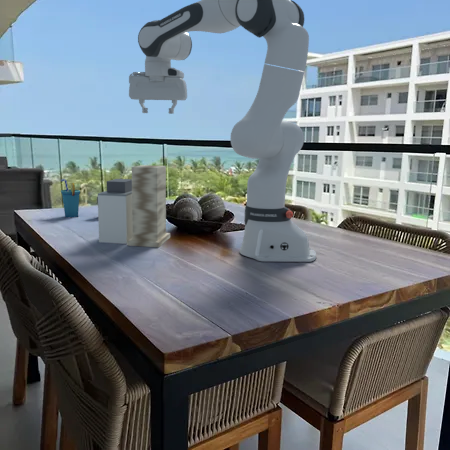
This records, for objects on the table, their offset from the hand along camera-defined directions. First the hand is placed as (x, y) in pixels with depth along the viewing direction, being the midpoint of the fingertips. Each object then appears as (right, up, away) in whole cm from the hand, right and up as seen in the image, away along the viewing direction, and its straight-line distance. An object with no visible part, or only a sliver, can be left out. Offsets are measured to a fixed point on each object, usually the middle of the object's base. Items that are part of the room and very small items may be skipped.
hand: (158, 113), depth 159 cm
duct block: (-11, -44, -9) cm, 46 cm away
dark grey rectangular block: (-10, -27, -7) cm, 30 cm away
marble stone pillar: (-1, -44, -13) cm, 46 cm away
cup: (-40, -36, +27) cm, 60 cm away
